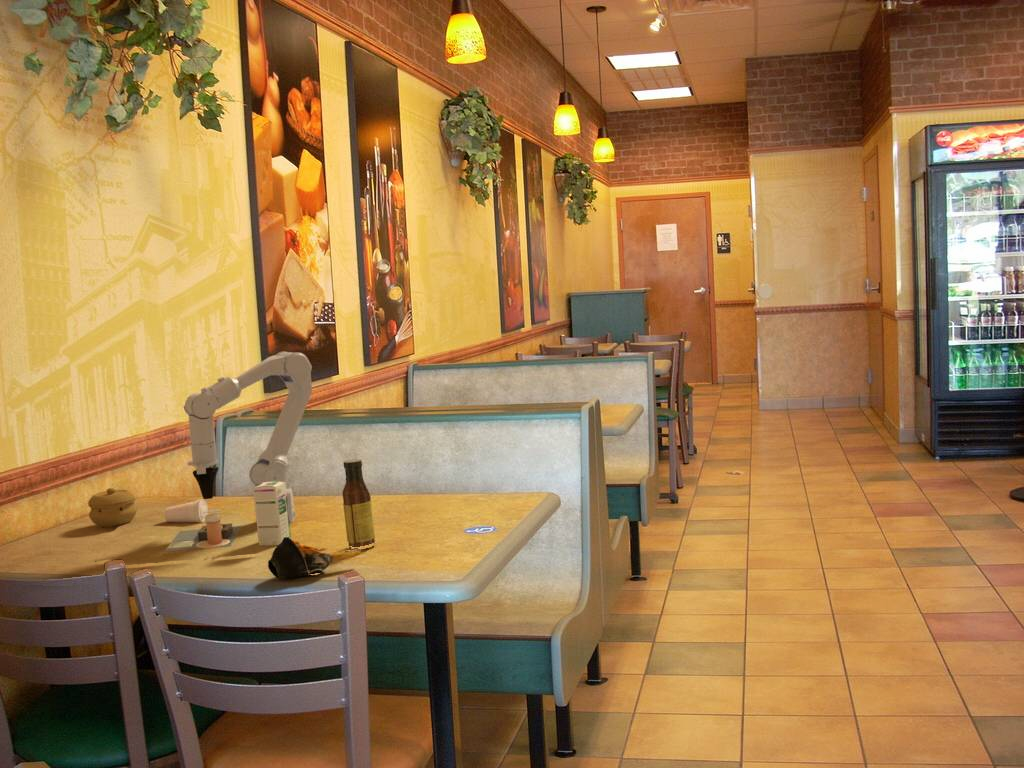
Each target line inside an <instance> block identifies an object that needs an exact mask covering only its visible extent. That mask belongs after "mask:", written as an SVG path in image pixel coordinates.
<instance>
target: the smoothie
mask: <svg viewBox="0 0 1024 768" xmlns="http://www.w3.org/2000/svg"><path fill="white" fill-rule="evenodd" d="M214 513H220V509H215V510H214V509H213V510H209V507H208V503H207V500H206V499H203V498H202V499H197V500H195V501H190V502H187V503H182V504H178V505H174V506H168V507H166V508H165V509H164V519H165V521H166V523H203V522H205V516H206V515H209V514H214Z"/></svg>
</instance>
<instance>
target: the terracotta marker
mask: <svg viewBox="0 0 1024 768" xmlns="http://www.w3.org/2000/svg"><path fill="white" fill-rule="evenodd" d="M221 520H222V518H221V514H220V513H209V514H208V515H206V516H205V521H204V522H205V526H206V527H207V538H208V544H210V545H214V544H220V543H222V534H221V524H222V523H221Z"/></svg>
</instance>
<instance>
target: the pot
mask: <svg viewBox="0 0 1024 768" xmlns="http://www.w3.org/2000/svg"><path fill="white" fill-rule="evenodd" d="M136 500H137V499H136V496H135V495H134V493H132V492H131V491H130V490H127V489H115V488H114V487H109V488H107V489H106V490H105V491H100V492H97V493H95V494H93V495H92V496H91V497H90V498H89V500H88V502H87V504H88V507H89V508H90V512H89V513H88V517H89V518H90V520H91V521H92V523H93V524H94V525H95V526H97V527H99V528H115V527H116V528H117V527H120V526H121V525H125V524H129V523H131V522H132V521H133V520H134V518H135V516H136V514H137V509H138V507H137V506H136V505H135V504H134V502H136Z"/></svg>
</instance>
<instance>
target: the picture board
mask: <svg viewBox="0 0 1024 768" xmlns="http://www.w3.org/2000/svg"><path fill="white" fill-rule="evenodd" d="M232 527H233V532H232V534H231V535H230V537H229V538H227V539H222V543H220V544H214V545H210V544H208V540H203V541H198V532H199V530H200V529H201V528H199V529H189V530H187V529H186V530H179V532H178V533H177V534H176V536H175V537H174V538H173V539H172V540H171V542H170V543H169V544H168V545H167V546H166V548H165V549H164V550H163V553H168V552H177V551H179V552H180V551H190V550H203V549H216V548H226V547H231V546H232V544H233V542H234V541H235V539H236V537H237V535H238V534H239V532H240V530H241V529H242V527H243V525H236V526H232Z"/></svg>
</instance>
